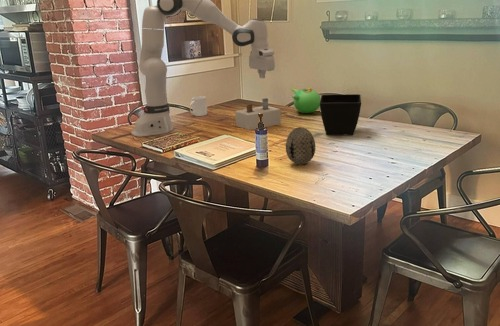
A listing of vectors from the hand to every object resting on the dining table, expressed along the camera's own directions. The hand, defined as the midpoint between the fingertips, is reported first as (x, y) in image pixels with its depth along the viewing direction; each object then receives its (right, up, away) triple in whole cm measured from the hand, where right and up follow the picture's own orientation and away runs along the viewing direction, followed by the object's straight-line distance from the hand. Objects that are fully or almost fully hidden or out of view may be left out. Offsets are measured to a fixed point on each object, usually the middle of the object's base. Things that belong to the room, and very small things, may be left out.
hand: (262, 78), depth 241 cm
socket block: (-2, -24, +6) cm, 25 cm away
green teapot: (+27, -15, +27) cm, 41 cm away
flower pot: (+38, -30, -17) cm, 51 cm away
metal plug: (+2, -19, +7) cm, 20 cm away
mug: (-38, -16, +38) cm, 56 cm away
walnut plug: (-6, -23, +3) cm, 24 cm away
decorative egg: (+14, -45, -59) cm, 75 cm away
